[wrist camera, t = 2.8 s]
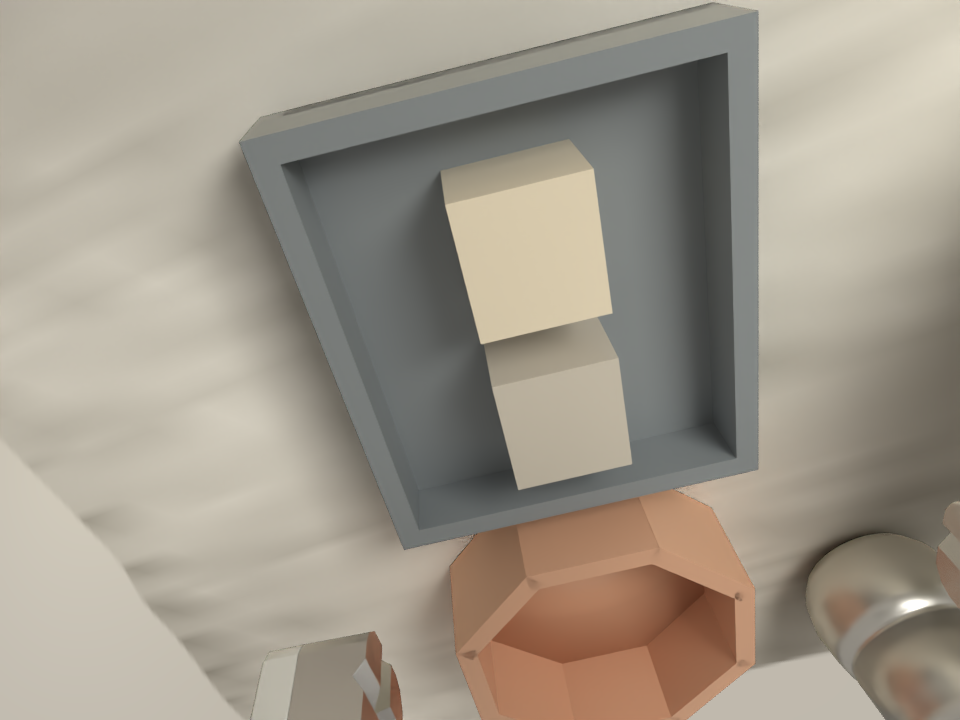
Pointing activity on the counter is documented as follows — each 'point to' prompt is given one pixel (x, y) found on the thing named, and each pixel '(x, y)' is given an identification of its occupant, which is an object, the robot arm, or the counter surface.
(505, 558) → the terracotta bowl
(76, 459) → the counter surface
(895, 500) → the counter surface
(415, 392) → the slate tray
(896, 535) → the silver metal bottle
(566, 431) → the cream matte cube
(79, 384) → the counter surface
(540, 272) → the tan block
